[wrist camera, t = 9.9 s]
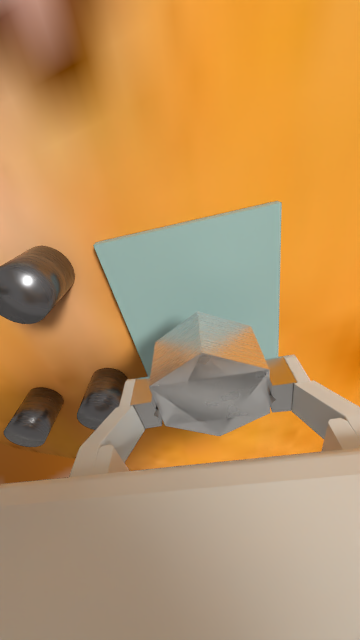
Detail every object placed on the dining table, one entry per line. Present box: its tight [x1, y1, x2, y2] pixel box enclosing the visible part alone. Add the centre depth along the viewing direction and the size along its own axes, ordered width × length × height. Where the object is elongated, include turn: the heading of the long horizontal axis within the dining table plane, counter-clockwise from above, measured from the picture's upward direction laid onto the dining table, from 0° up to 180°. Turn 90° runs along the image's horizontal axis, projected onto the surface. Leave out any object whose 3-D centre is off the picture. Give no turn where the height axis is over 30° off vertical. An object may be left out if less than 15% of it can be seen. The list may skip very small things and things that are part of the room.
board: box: [93, 201, 281, 377], centre depth 16 cm, size 12×10×1 cm
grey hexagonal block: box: [149, 311, 270, 436], centre depth 12 cm, size 6×5×3 cm
